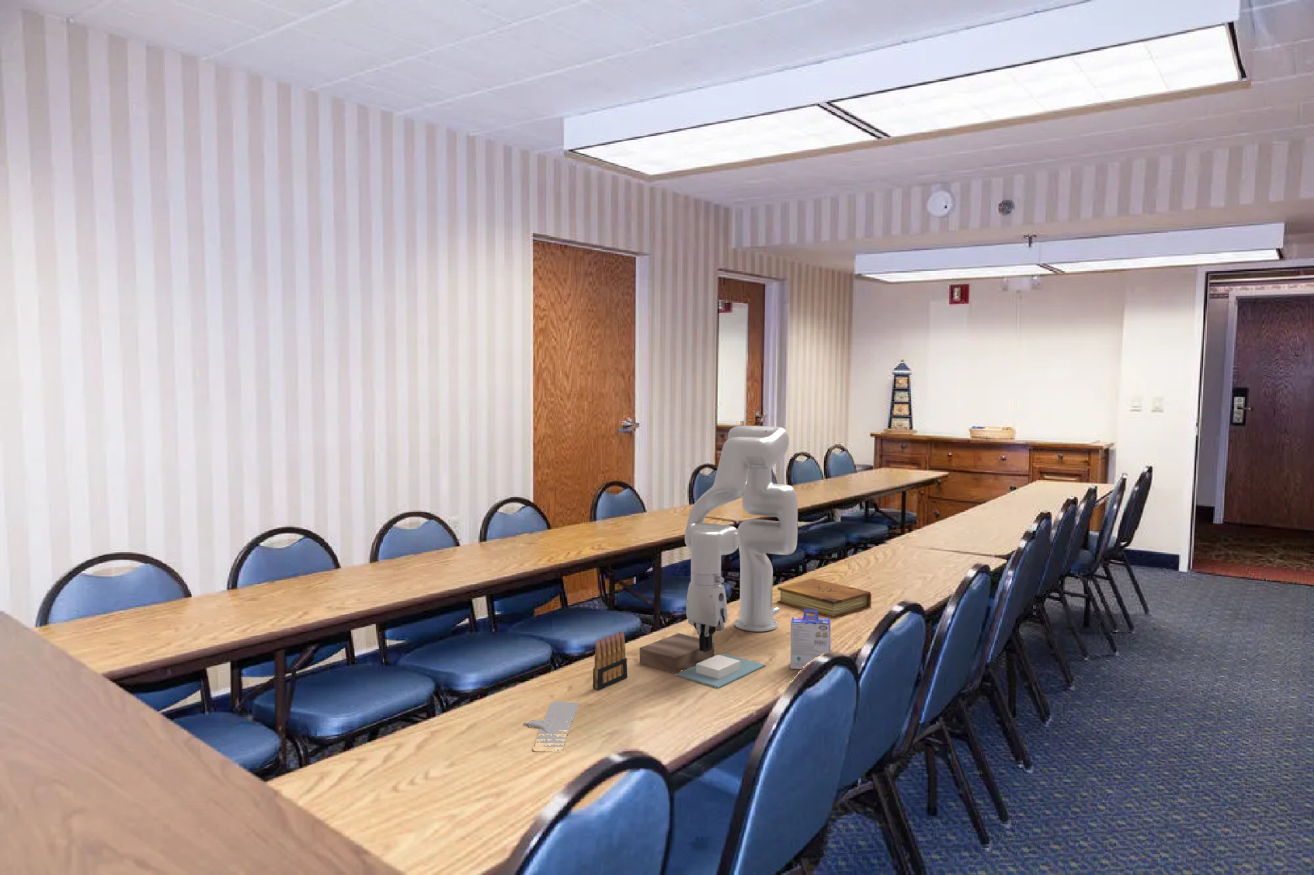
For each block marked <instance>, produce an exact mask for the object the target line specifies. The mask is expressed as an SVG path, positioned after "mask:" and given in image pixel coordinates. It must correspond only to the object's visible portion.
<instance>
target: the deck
mask: <svg viewBox="0 0 1314 875" xmlns="http://www.w3.org/2000/svg"><path fill="white" fill-rule="evenodd" d="M714 656H715V641H712V649H711V650H709V651H707V652H703V651H700V650H699V637H695V636H691V635H688V634H684V633H679V632H678V633H676V634H673V635H670V636H667V637H664V638H662V639H659V640H657V641H654V642H651V643H648V644H646V645H642V646H640V647H639V664H642V665H646V666H648V667H651V666H653V667H652V668H655V669H658V668H659V669H658V670H661V669H662V670H661V671H665V670H667V671H666V672H668V671H670V672H669V673H671V672H673V673H672V674H675V673H676V674H678V673H680V671H681V670H683V671H685V670H687V668H688V669H689V667H690V668H692V667H694V666H696V664H697V663H699V662H702V661H704V660H706V659H709V658H711V657H714ZM691 666H692V667H691ZM681 672H682V671H681Z"/></svg>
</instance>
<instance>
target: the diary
mask: <svg viewBox="0 0 1314 875" xmlns="http://www.w3.org/2000/svg"><path fill="white" fill-rule="evenodd" d="M777 590H778V591H779V592H780V593H779V594H780V596H779V599H780V600H777V603H778V604H781V605H785V606H789V607H793V608H796V609H800V610H802V611H804V609H811V610H818V615H821V616H825V617H828V618H832V619H836V618H841V617H843V616H846V615H849V614H853V613H856V612H859V611H863V610H867V609H869V608H871V607H872V593H871V592H870V591H868V590H864V589H860V588H855V587H850V586H846V585H843V584H838V583H836V582H835V583H834V582H830V581H826V580H823V579H817V578H809V579H806V580H801V581H797V582H793V583H790V584H789V583H788V584H784V585H781V586H778V587H777Z"/></svg>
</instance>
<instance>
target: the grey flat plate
mask: <svg viewBox="0 0 1314 875" xmlns="http://www.w3.org/2000/svg"><path fill="white" fill-rule="evenodd" d="M579 704H580V702H578V701H577V702H575V701H573V702H571V701H569V702H568V701H552V702H550V703H549V706H548V709H547V712H546V714H545V717H544V718H543V719H542V720H540V719H539V720H535V719H534V720H530V721H529V722H525V721H524V722H523V725H525V726H524V727H528V726H530V727H536V728H535V729H539V728H540V729H539V731H538V733H537V736H538V734H544V735H545V736H543V735H540V736H538V737H537V736H536V739H545V741H544V740H543V741H540V743H565V744H566V742H567V739H568V736H567V737H565V738H564V737H561V736H559V737H557V736H556V735H557V734H568V735H569V733H570V731H567V732H569V733H567V732H564V731H559V730H571V727H572V724H573V722H571V721H574V718H575V715H576V713H577V709H578V706H579ZM571 717H572V718H571ZM566 721H568V722H566ZM526 725H527V726H526ZM568 726H571V727H568ZM530 727H529V728H530ZM562 732H563V733H562ZM546 734H549V735H546ZM550 734H552V736H551V735H550ZM554 734H556V735H554ZM536 739H535V740H536ZM547 739H552V740H550V741H548V740H547ZM555 739H566V741H564V742H563V741H561V740H558V741H557V740H555ZM537 743H539V742H538V741H537ZM543 747H565V745H564V746H563V745H561V744H560V745H559V746H558V745H551V746H549V745H547V746H545V745H544V746H543ZM554 751H555V750H554ZM557 751H559V750H558V749H557Z"/></svg>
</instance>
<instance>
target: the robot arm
mask: <svg viewBox="0 0 1314 875" xmlns="http://www.w3.org/2000/svg"><path fill="white" fill-rule="evenodd" d="M789 442H790V437H789V433H788V431H787V430H786V429H785V428H783V427H781V426H771V425H770V426H766V425H763V426H762V425H737V426H734V427H731V428H730V429H729V431H728V434H727V439H726V440H725V442H724V443H723V446H722V449H721V453H720V457H719V461H718V466H717V470H716V473H715V478H714V482H713V485H712V486H711V487H710V488H709V489H707V491H705V492H704V493H703V494H702V495H701V496H700V497H698V499H697V501H695V503H694V504H693V505H692V507H691V509H690V512H689V514H688V519H687V522H686V526H685V531H684V543H685V545H686V547H687V549H689V550H690V581H689V584H688V589H687V593H686V594H687V595H686V606H685V609H686V610H685V612H686V618H687V623H688V624H689V625H691V626H693V627H694V629H695V630H696V634H697V635H698V638H699V650H700V651H703V652H707V651H709V650H711V649H712V642H713V635H715V634H716V633H717V632H722V631H724V630H725V624H724V623H727V621H728V605H727V594H726V589H725V587H724V586H725V585H724V584H722V583H724V582H725V578H724V577H722V556H727V555H731V554H733V553H734V552H736V551H737V550H739V566H740V567H739V568H740V570H739V572H740V573H739V574H740V576H739V588H740V589H739V617H738V618H736V619H735V620H734V626H735V627H736V628H737V629H739V630H743V631H746V632H747V631H748V632H761V633H762V632H769V631H773V630H775V629H777V628H778V625H779V624H778V621H777V620H776V619H775V618H774V615H777V614H778V613H779V614H780V608H779V607H777V606H775V607H773V578H774V577H773V574H774V573H773V572H774V570H773V565H772V562H771V560H770V559H769V557H768V556H767V554H771V555H782V556H784V555H785V556H788V555H789V556H790V555H792V554H793V553H794V552H795V551H796V549H797V547H798V546H797V545H798V533H799V532H798V530H799V529H798V525H799V524H798V516H799V512H798V510H799V508H798V507H799V506H798V495H797V492H796V490H795V488H794V487H793V486H791V485H789V484H785V483H784V484H783V483H780V484H779V483H774V482H773V480H772V476H773V475H772V468H773V467H775V465H777V463H778V462H779V461H780V460H781V459H782V458H783V457H784V456H785V455H786V453H787V451H788V448H789ZM740 498H742V508H743V510H744V512H745V513H747V514H748V515H752V516H760V517H773V518H774V517H775V518H777V519H778V520H777V521H776V520H769V519H758V518H757V519H756V518H754V519H746V520H743V521H742V522H740V523H739V525H738V527H737V528H736V527H734V525H728V524H722V523H721V524H719V523H709V522H708V523H707V522H704V520H705V519H706V517H707V516H708V514H709V513H710V512H712V511H713V510H714V509H717V508H719V507H720V506H723V505H726V504H729V503H732V502H733V501H736V500H739V499H740Z"/></svg>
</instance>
